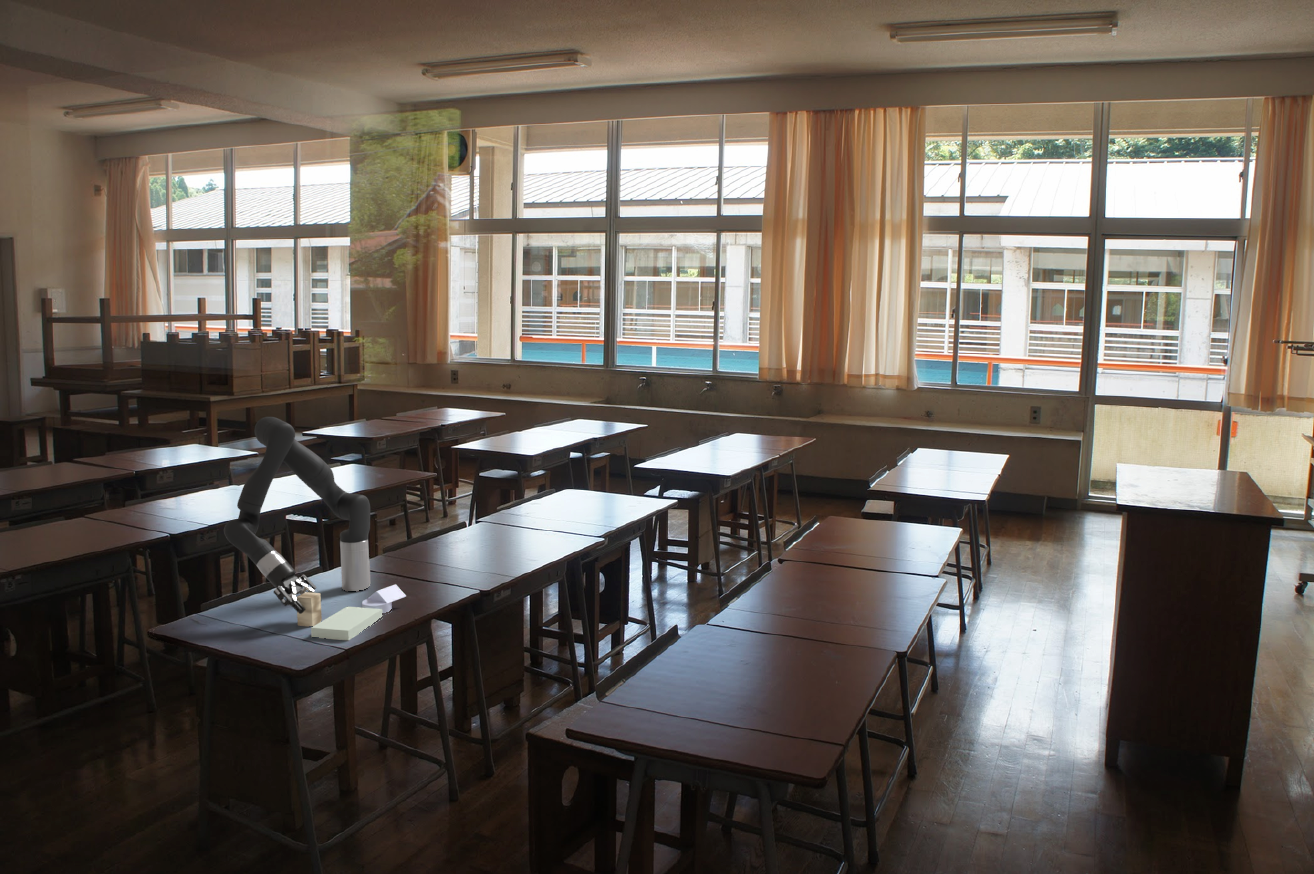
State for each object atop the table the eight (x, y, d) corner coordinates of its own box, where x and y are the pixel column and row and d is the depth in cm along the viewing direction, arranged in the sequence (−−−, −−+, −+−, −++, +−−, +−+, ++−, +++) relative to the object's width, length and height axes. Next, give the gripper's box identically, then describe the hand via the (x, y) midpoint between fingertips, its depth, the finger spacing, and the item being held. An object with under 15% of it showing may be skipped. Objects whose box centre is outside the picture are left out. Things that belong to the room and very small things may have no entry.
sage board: (347, 615, 286) (347, 606, 285) (382, 618, 283) (382, 609, 283) (311, 637, 266) (311, 627, 266) (348, 640, 264) (348, 630, 263)
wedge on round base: (386, 601, 300) (356, 613, 288) (385, 582, 299) (355, 592, 287) (406, 606, 296) (377, 617, 284) (406, 586, 295) (376, 596, 283)
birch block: (307, 620, 281) (305, 592, 280) (321, 621, 280) (320, 593, 279) (297, 625, 276) (296, 597, 275) (312, 626, 275) (311, 598, 274)
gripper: (269, 567, 270) (305, 606, 270) (297, 555, 284) (331, 592, 284) (254, 583, 272) (290, 622, 271) (282, 570, 286) (317, 608, 285)
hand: (311, 607), depth 278 cm, fingers open, 8 cm apart
